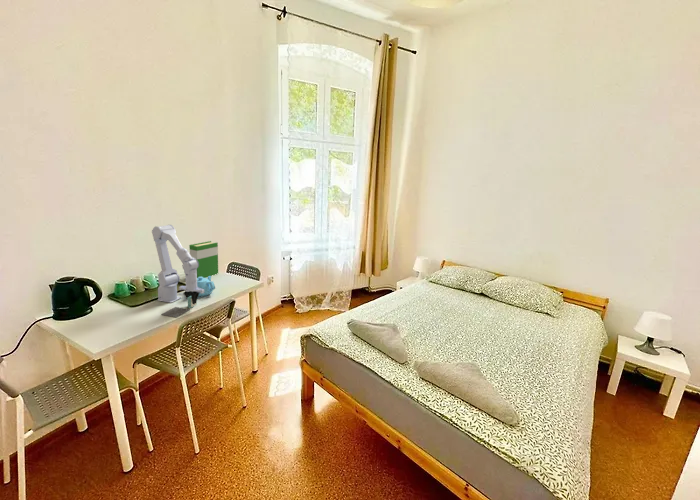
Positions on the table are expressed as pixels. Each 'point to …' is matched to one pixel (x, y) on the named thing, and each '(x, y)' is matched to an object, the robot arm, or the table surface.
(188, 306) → the teal tile
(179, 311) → the charcoal mat
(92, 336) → the table surface
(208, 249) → the hardback book
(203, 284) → the teapot
